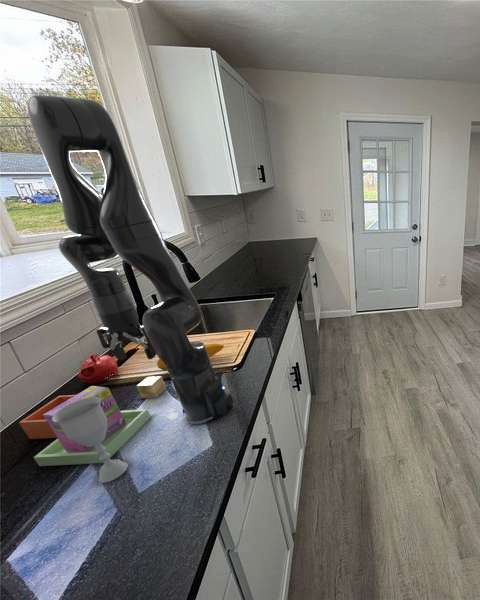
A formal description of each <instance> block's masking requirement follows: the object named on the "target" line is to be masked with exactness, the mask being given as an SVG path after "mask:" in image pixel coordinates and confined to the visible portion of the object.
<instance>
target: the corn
mask: <svg viewBox="0 0 480 600" xmlns="http://www.w3.org/2000/svg"><path fill="white" fill-rule="evenodd" d="M204 345H205V347H206V349H207V352H208V356H209V358H211V357H213V356H214V355H217V353H219V352H222V350H223V349H224V344H221V343H209V344H208V343H207V344H204ZM156 365H157V368H158V369H160V370H163V371H167V368H166V366H165V364H164V362H163V361H162V360H161V359H160V358H159V357H158V360H157V362H156Z"/></svg>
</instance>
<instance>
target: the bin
mask: <svg viewBox="0 0 480 600" xmlns="http://www.w3.org/2000/svg"><path fill="white" fill-rule="evenodd" d="M75 395H76V394H69V395H58V396H56V397H55V398H54V399H52V400H51V401H49V402H47V403H46V404H44V405H43V406H42V407H40V408H39V409H37V410H36V411H34V412H33V413H31V414H30V415H28V416H27V417H25V418H23V419H22V420H21V421H19V422H18V423H19V424H18V425H20V427H21V428H22V429H23V431H24V432H25V434H26V435H27V437H28V438H29V439H30V440H39V439H41V440H42V439H58V438H57V436H56V435H55V433H54V432H53V430H52V428H51V427H50V425H49V423H48V422H47V420H46V419H45V417H44V416H43V414H45V413H47V412H49V411H50V410H52V409H54V408H55V407H57V406H59V405H60V404H62V403H64V402H65V401H67V400H69V399H70V398H72V397H74V396H75Z"/></svg>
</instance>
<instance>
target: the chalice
mask: <svg viewBox="0 0 480 600" xmlns="http://www.w3.org/2000/svg"><path fill="white" fill-rule="evenodd" d="M100 403H101V398H99V397H90V398H85V399H82V400H79V401H76V402H74V403H72V404H70V405H68V406H66V407H64V408H62V409H61V410H59V411H58V412H57V413H56V414H54V416H53V417H52V421H55V422H57V423H59V424H60V426H61V428H62V429H63V431H64V432H65V434H66V436H67V437H68V438H69V439H71V440H73V441H75V442H77V443H79V444H82V445H84V446H87V447H93V446H95V447H96V453H98V454H100V458H99V460H103V461H104V463H103V464H102V465H101V467H100V468H99V472H98V482H99V483H103V484H105V483H109V482H111V481H115V480H116V479H117V478H119V477H121V476H122V475H123V474H124V473H126V471H127V470H128V467H129V464H128V463H127V462H124V461H123V460H121V459H118V458H117V459H116V458H114V459H111V458H110V459H109V455H110V453H106V452H105V449H106V447H103V446H102V445H101V442H102V441H103V440H104V439H105V435H106V430H107V417H106V415H105V413H104V411H103V410H102V408H101V406H100Z"/></svg>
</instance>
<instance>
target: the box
mask: <svg viewBox="0 0 480 600" xmlns="http://www.w3.org/2000/svg"><path fill="white" fill-rule="evenodd" d="M74 395H75V396H74V397H72V398H70V399H69V400H67V401H65V402H64V403H62V404H60V405H59V406H57V407H55V408H54V409H52V410H50V411H49V412H47V413H45V414H43V416H44V417H45V419H46V420H47V422H48V423H49V425H50V427H51V428H52V430H53V432H54V433H55V435H56V436H57V438H56V439H59V441H60V443H61V444H62V446H63V447H64V449H65V451H66V452H69V453H79V452H89V451H90V450H91V449H92V448H94V447H95V446H93V447H87V446H84V445H82V444H79V443H77V442H75V441H73V440H71V439H69V438H68V437H67V436H66V434H65V432H64V431H63V429H62V428H61V426H60V424H59V423H57V422H55V421H52V417H53V416H54V414H56V413H57V412H58V411H59V410H61V409H62V408H64V407H66V406H68V405H70V404H72V403H74V402H76V401H79V400H82V399H85V398H90V397H99V398H101V403H100V406H101V408H102V410H103V411H104V413H105V415H106V417H107V430H106V435H105V439H106V438H107V437H108V436H110V435H111V434H112V433H113V432H115V431H116V430H117V429H119V428H120V427H121V426H123V425H124V424H125V423H126V422H125V420H124V418H123V416H122V414H121V412H120V411H121V410H120V407H119V406H118V404H117V402H116V400H115V398H114V396H113V393H112V392H111V390H110V388H109V387H105V386H97V385H90V386H89V387H87V388H86V389H84V390H82V391H81V392H79V393H77V394H74Z"/></svg>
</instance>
